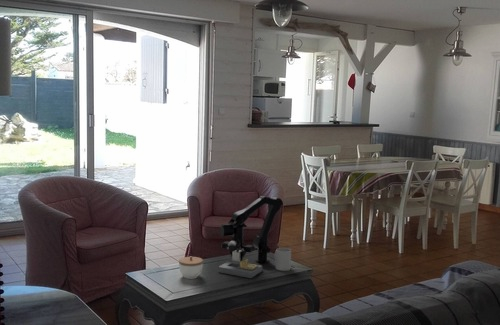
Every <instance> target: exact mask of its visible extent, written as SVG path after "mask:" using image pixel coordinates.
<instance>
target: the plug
mask: <svg viewBox="0 0 500 325" xmlns="http://www.w3.org/2000/svg"><path fill="white" fill-rule="evenodd" d="M240 251H242V249H238V248H237V250H236V251H233V252H232V256H231V260H232V261H238V262H240V259H241V253H240Z"/></svg>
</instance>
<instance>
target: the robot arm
mask: <svg viewBox="0 0 500 325" xmlns="http://www.w3.org/2000/svg"><path fill="white" fill-rule="evenodd" d="M264 205H267V213H266V215H265V218H264V221H263V224H262V227H261V228H260V231H259V232H258V234H254V238H253V240H252V241H253V242H252V244H247V245H245V243H244V238H245V236H244V228H247V227H248V225H246V224H245V222H246V221H247V220H248V219H249V216H251V215H253V213H255V211H257V210H258V209H260V208H261V207H262V206H264ZM282 206H283V200H282V199H281V198H279V197H277V196H271V197H269V196H264V195H260V196H259V198H257V199H256V200H254V201H253V202H251V203H250V204H249V205H247V206H246V207H245V208H243V209H241V210H237V211H235V212H234V213H233V214H232V217H231V218H230V220H229V221H228V223H226V224H225V223H222V224H221V226H220V229H219V233H220V236H221V237H230V236H231V237H232V238H231V240H230V241H228V240H226V241H224V242H222V243H221V249H226V250H227V251H228V252H229V254H230V255H231V257H232V252H233V251H236V250H237V248H238V249H239V250H241V251H240V253H241V259H240V261H242V260H244V259H245V255H246V254H247V253H252V252H253V251H255V250H256V251H257V259H256V260H255V263H261V264H267V263H268V262H270V259H268V254H270V253H271V248H270V247H269V246H268V240H269V238H268V236H269V234H270V230H271V227H272V225H273V222H274V220H275V218H276V217H275V216H276V214H277V213H278V212H279V211H280V210H281V208H282Z"/></svg>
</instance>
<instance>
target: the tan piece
mask: <svg viewBox="0 0 500 325" xmlns="http://www.w3.org/2000/svg"><path fill="white" fill-rule="evenodd" d="M258 265H259V264H253V263H250V262H249V258H247V257H246V258H245V257H244V258H243V260H242V261H240V268H242V269H248V270H254V269H255V268H257V267H258Z"/></svg>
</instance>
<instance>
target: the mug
mask: <svg viewBox="0 0 500 325" xmlns="http://www.w3.org/2000/svg"><path fill="white" fill-rule="evenodd" d="M274 260H275V269H276V270H277V271H281V272H286V271H287V272H288V271H291V268H292V267H291V264H292V262H291V261H292V249H291V248H288V247H277V248H276V250H275V251H274Z"/></svg>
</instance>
